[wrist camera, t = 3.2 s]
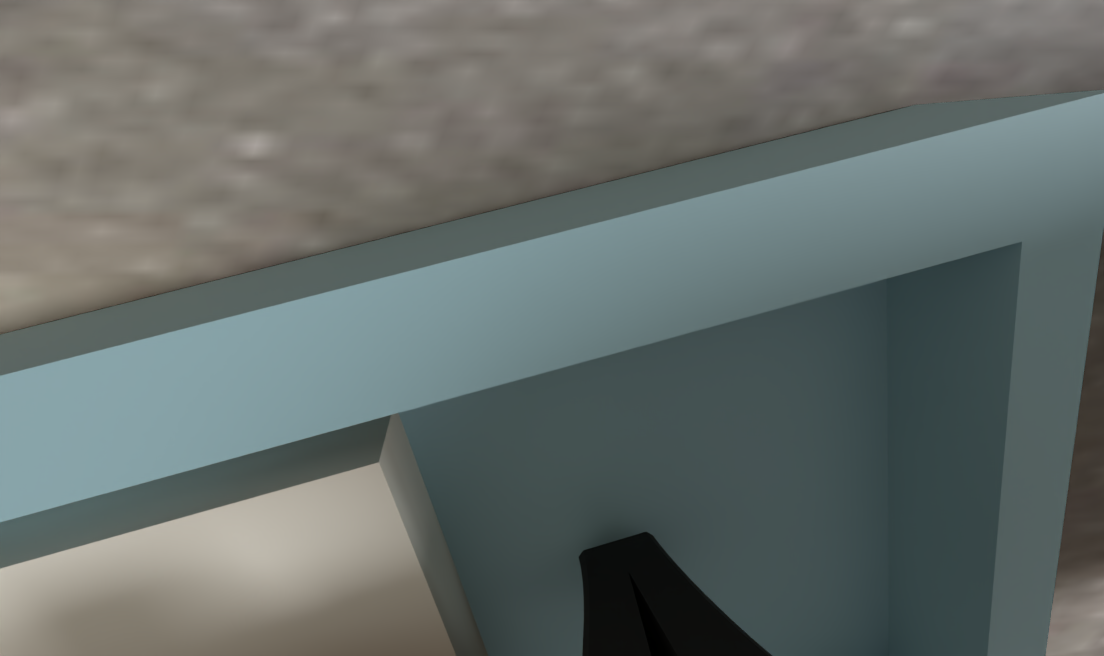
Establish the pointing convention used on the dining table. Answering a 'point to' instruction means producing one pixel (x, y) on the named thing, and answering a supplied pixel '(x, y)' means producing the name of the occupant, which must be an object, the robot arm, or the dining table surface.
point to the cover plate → (245, 561)
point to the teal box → (666, 380)
